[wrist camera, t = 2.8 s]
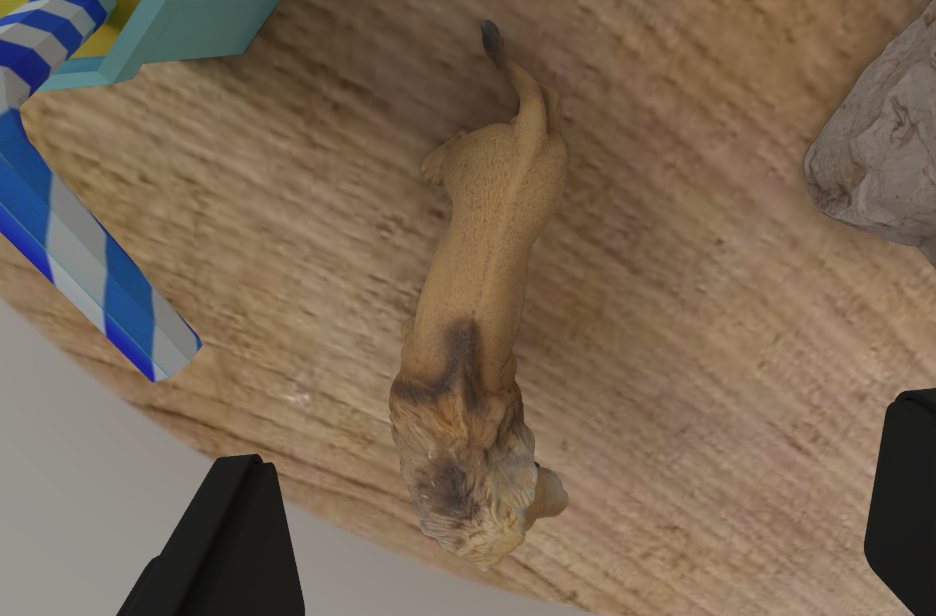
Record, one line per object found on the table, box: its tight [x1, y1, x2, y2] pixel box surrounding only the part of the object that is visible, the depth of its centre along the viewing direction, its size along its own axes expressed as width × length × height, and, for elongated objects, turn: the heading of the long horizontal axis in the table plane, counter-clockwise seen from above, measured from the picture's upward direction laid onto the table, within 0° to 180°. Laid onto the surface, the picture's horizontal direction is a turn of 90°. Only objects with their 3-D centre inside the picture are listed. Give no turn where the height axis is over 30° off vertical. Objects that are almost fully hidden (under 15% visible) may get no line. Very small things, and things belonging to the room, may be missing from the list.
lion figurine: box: [389, 20, 569, 572], centre depth 18 cm, size 15×5×9 cm, turn 178°
